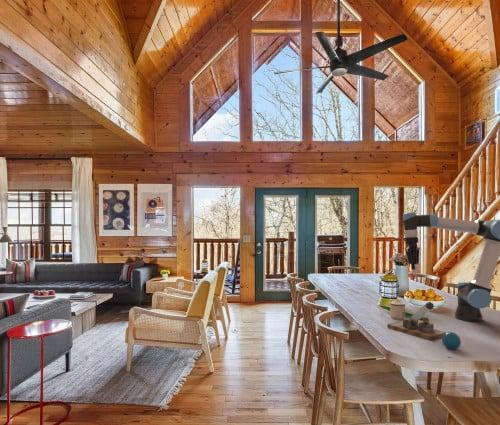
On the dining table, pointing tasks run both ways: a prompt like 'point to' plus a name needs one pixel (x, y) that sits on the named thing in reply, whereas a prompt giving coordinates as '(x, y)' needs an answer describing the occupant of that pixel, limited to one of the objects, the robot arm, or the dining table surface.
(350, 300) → the dining table surface
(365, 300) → the dining table surface
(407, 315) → the green onion
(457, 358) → the dining table surface
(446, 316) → the dining table surface
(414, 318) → the lever
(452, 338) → the ball
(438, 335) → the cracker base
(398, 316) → the teacup with lid
